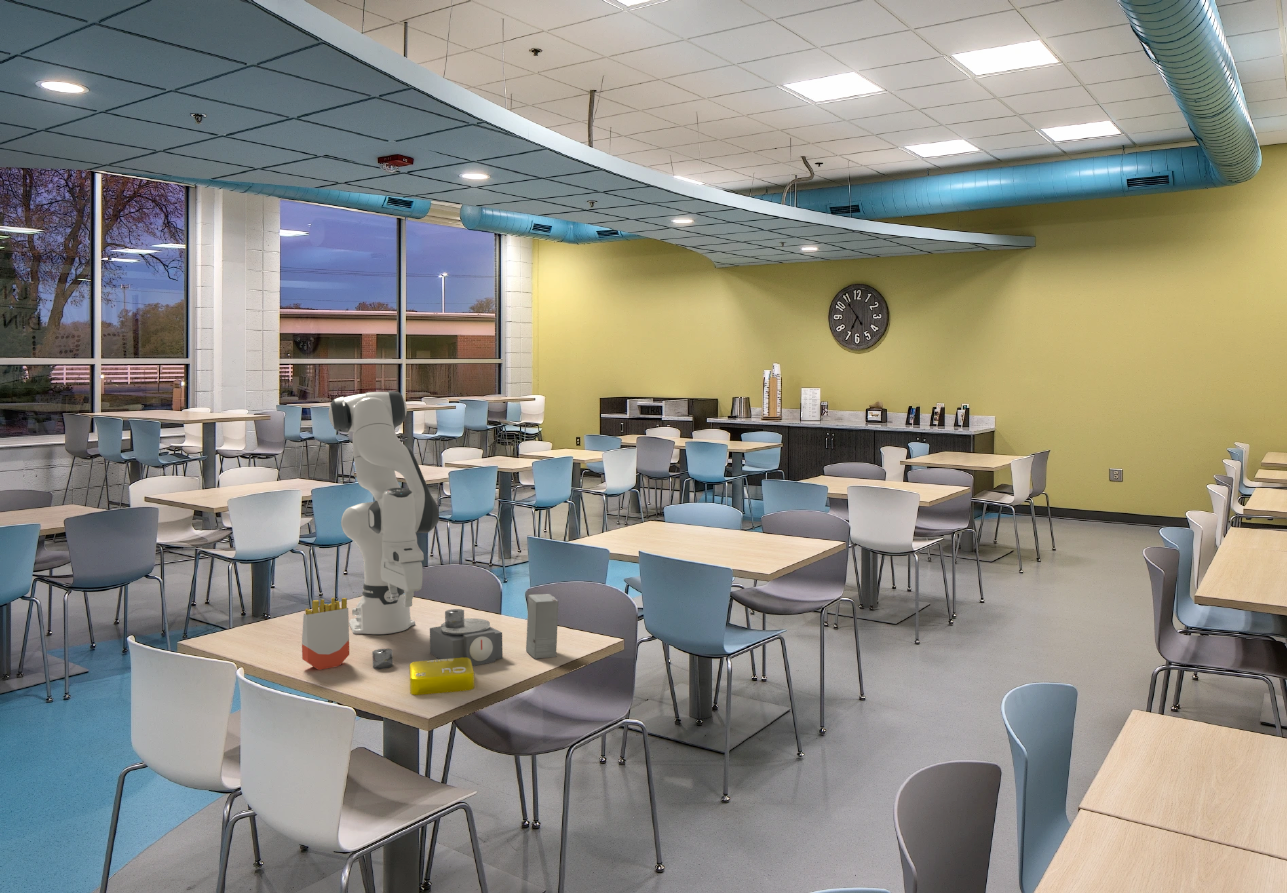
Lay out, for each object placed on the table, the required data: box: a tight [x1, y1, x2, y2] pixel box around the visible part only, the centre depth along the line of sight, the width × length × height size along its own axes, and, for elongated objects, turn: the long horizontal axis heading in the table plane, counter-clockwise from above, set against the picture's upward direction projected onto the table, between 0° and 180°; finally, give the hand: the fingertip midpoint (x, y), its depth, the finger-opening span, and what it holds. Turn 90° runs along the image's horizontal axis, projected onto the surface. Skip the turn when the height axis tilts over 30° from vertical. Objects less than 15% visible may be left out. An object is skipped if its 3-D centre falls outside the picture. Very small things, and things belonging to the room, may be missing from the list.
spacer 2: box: [444, 608, 465, 628], centre depth 239 cm, size 5×5×4 cm
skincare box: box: [525, 593, 559, 660], centre depth 242 cm, size 8×7×16 cm
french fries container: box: [301, 597, 350, 671], centre depth 232 cm, size 5×11×18 cm, turn 130°
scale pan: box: [440, 617, 491, 635], centre depth 241 cm, size 13×13×1 cm
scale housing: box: [429, 625, 504, 667], centre depth 240 cm, size 18×14×8 cm
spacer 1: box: [371, 648, 394, 670], centre depth 232 cm, size 5×5×4 cm
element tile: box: [408, 657, 475, 696], centre depth 218 cm, size 15×15×5 cm
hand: (401, 603), depth 233 cm, fingers open, 8 cm apart
